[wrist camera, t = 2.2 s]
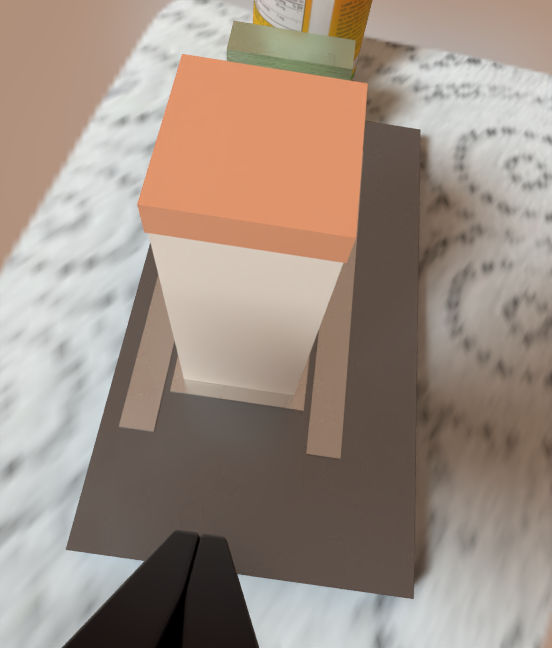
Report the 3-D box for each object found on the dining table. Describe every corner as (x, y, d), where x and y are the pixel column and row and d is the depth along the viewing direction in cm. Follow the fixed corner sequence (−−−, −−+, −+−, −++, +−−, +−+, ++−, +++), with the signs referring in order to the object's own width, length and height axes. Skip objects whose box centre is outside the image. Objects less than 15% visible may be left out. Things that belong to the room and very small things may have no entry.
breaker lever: (295, 396, 19) (356, 238, 10) (182, 380, 19) (137, 204, 10) (307, 297, 21) (367, 83, 12) (203, 281, 21) (181, 53, 11)
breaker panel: (402, 596, 18) (464, 607, 13) (76, 550, 17) (19, 544, 13) (412, 147, 26) (452, 55, 21) (192, 113, 26) (184, 13, 21)
